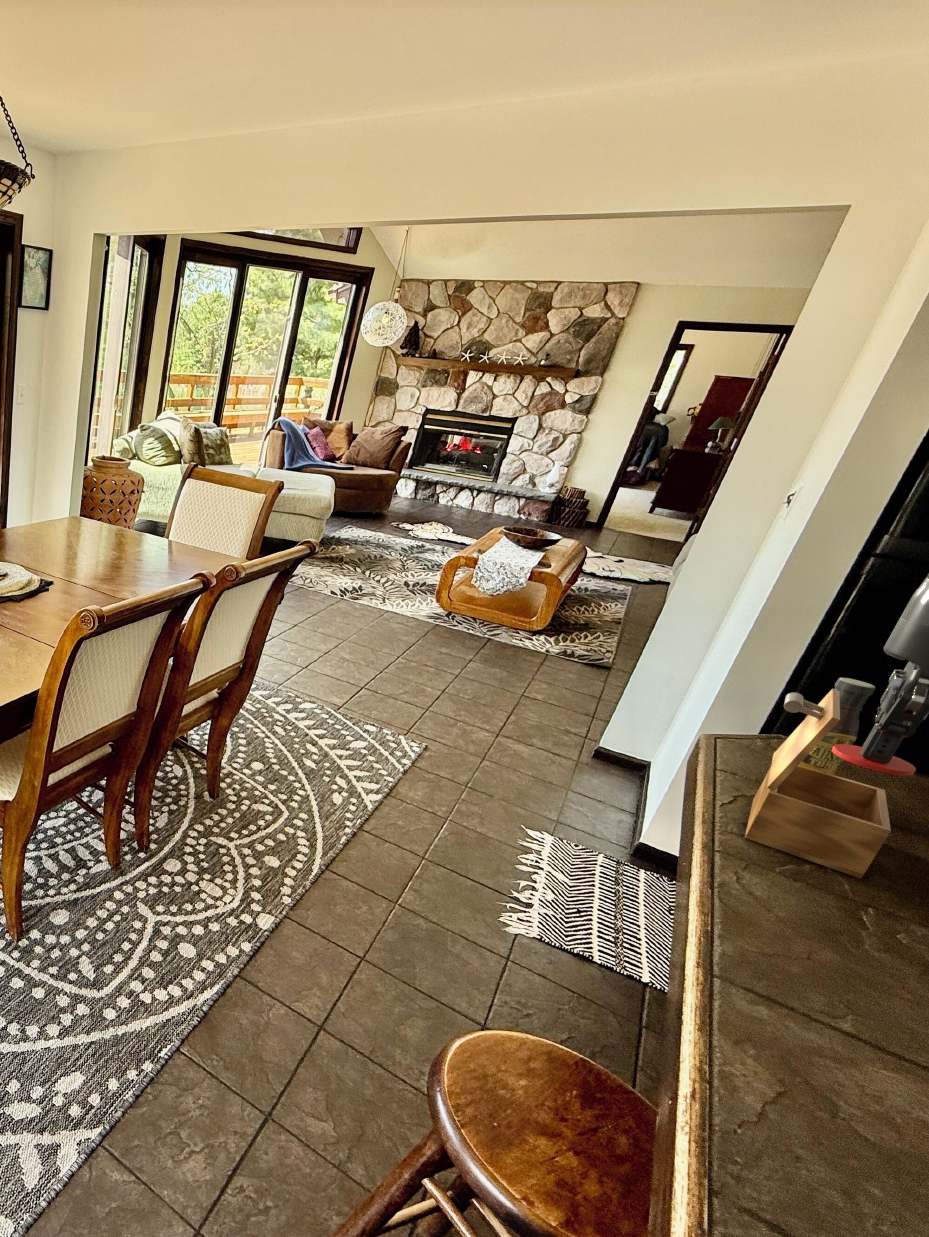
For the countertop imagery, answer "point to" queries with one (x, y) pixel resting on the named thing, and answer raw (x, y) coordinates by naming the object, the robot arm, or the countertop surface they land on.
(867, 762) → the pan lid
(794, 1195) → the countertop surface
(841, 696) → the sauce bottle
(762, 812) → the chest
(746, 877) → the countertop surface
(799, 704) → the chest lid
